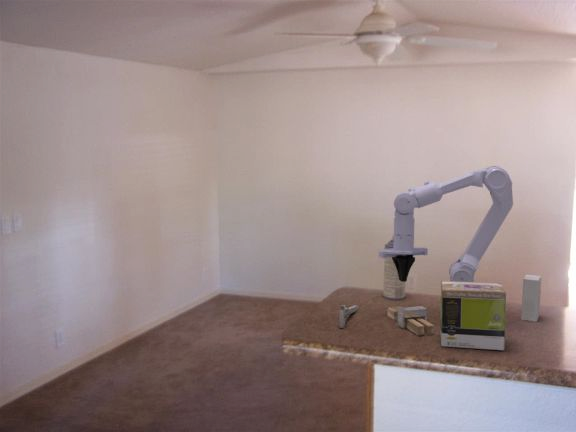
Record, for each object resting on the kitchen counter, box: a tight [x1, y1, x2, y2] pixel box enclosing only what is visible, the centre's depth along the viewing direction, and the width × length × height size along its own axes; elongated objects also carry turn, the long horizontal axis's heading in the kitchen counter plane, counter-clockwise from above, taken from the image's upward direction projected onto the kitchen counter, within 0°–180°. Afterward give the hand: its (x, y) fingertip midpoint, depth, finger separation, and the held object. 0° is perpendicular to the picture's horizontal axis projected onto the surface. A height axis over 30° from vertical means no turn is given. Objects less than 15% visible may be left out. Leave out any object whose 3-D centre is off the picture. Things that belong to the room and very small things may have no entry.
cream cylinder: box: [382, 234, 406, 301], centre depth 191 cm, size 7×7×20 cm
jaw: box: [395, 311, 425, 336], centre depth 163 cm, size 2×14×2 cm, turn 15°
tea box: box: [439, 280, 507, 351], centre depth 150 cm, size 15×10×15 cm
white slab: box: [397, 305, 428, 329], centre depth 164 cm, size 7×3×5 cm, turn 107°
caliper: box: [338, 304, 359, 329], centre depth 171 cm, size 20×1×6 cm, turn 162°
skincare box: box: [520, 274, 542, 323], centre depth 170 cm, size 6×4×12 cm
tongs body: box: [387, 306, 435, 336], centre depth 165 cm, size 4×18×2 cm, turn 17°
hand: (402, 280), depth 174 cm, fingers closed
